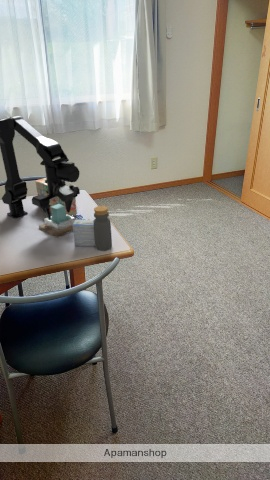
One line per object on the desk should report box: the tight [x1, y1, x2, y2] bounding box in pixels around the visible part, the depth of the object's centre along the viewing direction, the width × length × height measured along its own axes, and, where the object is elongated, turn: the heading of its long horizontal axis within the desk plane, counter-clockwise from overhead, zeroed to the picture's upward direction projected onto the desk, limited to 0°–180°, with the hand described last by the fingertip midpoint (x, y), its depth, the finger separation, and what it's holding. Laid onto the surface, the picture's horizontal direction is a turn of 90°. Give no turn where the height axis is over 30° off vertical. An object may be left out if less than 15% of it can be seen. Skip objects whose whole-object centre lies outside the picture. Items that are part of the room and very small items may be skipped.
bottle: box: [93, 205, 113, 252], centre depth 123 cm, size 6×6×15 cm
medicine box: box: [72, 219, 96, 247], centre depth 127 cm, size 8×4×9 cm, turn 88°
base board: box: [38, 223, 73, 238], centre depth 141 cm, size 12×12×1 cm
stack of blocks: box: [35, 177, 78, 217], centre depth 155 cm, size 21×6×12 cm, turn 44°
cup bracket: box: [43, 214, 76, 232], centre depth 141 cm, size 8×8×3 cm
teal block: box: [50, 204, 67, 223], centre depth 139 cm, size 4×4×8 cm
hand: (59, 215), depth 139 cm, fingers open, 9 cm apart
